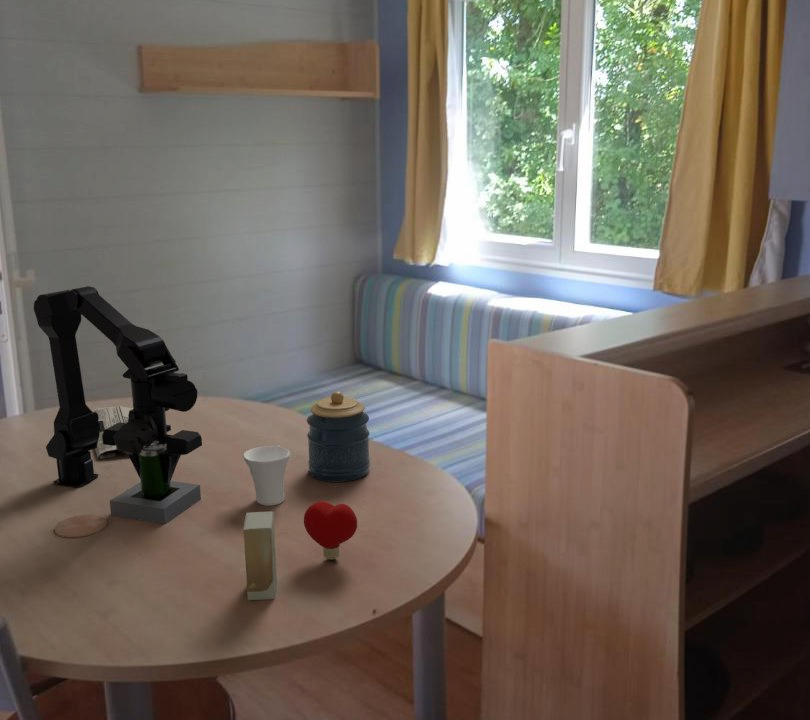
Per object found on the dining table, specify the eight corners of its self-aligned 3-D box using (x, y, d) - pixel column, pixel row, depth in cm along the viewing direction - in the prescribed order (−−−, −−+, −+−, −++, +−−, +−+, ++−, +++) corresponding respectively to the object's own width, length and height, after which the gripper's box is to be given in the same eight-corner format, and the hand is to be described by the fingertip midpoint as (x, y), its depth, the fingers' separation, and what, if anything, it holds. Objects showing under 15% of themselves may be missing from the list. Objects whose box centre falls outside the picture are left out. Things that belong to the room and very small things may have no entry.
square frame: (111, 515, 168) (109, 500, 167) (149, 491, 179) (148, 477, 178) (165, 523, 164) (163, 508, 163) (200, 499, 175) (199, 484, 174)
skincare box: (250, 581, 143) (246, 511, 140) (277, 580, 143) (274, 509, 140) (246, 602, 137) (242, 528, 134) (275, 600, 137) (271, 527, 134)
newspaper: (83, 418, 227) (82, 405, 226) (134, 412, 232) (132, 399, 231) (98, 464, 195) (97, 448, 195) (156, 455, 200) (155, 440, 200)
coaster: (44, 533, 161) (43, 531, 161) (77, 513, 169) (77, 511, 169) (85, 540, 158) (84, 538, 158) (117, 520, 166) (117, 518, 166)
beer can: (148, 513, 168) (142, 453, 165) (139, 503, 172) (133, 445, 169) (175, 506, 171) (171, 447, 168) (166, 497, 175) (161, 439, 172)
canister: (319, 487, 180) (316, 404, 176) (301, 466, 192) (297, 387, 187) (379, 477, 185) (377, 395, 181) (357, 456, 197) (355, 380, 192)
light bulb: (365, 554, 152) (363, 499, 149) (349, 573, 145) (347, 516, 143) (315, 546, 154) (313, 493, 152) (297, 565, 148) (295, 509, 146)
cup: (301, 494, 177) (299, 447, 174) (275, 512, 168) (273, 463, 166) (263, 487, 180) (261, 441, 178) (236, 505, 172) (233, 456, 170)
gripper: (78, 410, 162) (87, 489, 166) (165, 420, 156) (172, 503, 160) (117, 393, 172) (124, 468, 176) (200, 402, 166) (206, 480, 170)
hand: (155, 480), depth 170 cm, fingers closed on beer can, 5 cm apart
